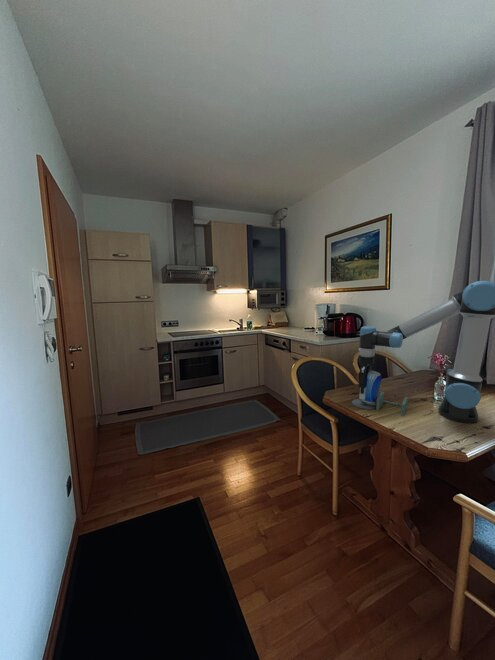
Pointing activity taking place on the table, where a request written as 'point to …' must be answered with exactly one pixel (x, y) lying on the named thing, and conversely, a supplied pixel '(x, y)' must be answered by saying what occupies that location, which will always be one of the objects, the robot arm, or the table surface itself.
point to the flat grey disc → (363, 404)
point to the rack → (381, 400)
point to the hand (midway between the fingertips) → (364, 396)
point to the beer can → (372, 386)
